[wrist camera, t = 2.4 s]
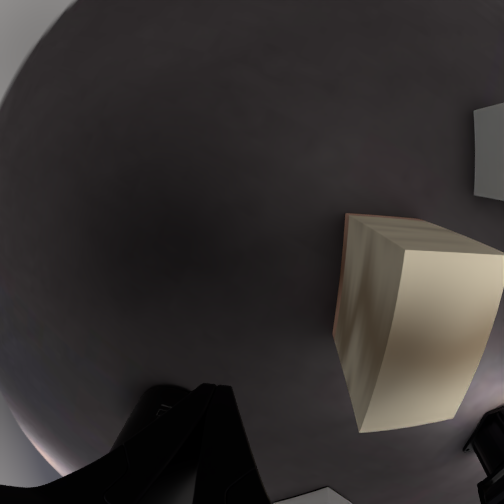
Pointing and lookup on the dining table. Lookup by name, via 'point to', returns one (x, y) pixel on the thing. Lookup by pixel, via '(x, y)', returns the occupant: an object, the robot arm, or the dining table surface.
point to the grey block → (489, 152)
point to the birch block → (412, 318)
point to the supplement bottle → (149, 411)
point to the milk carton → (317, 498)
